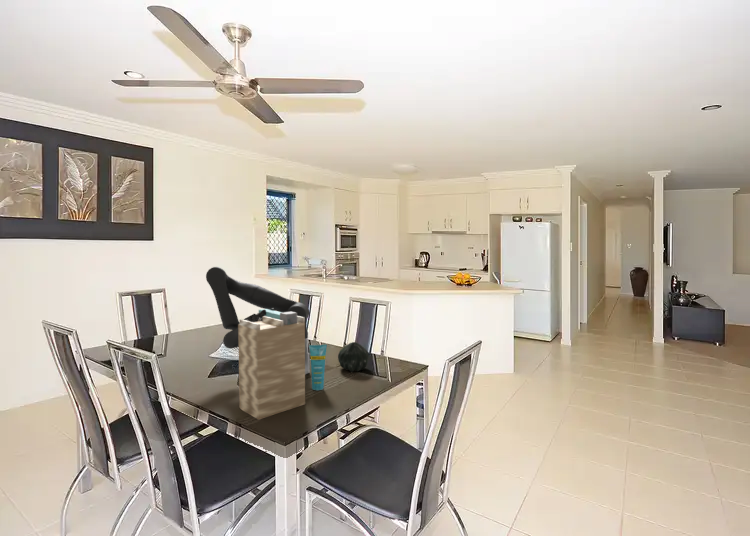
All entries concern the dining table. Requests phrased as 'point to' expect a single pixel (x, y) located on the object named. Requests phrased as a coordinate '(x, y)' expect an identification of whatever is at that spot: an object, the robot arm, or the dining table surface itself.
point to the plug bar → (282, 316)
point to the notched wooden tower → (271, 366)
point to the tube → (317, 365)
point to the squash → (353, 357)
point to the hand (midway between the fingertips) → (269, 311)
